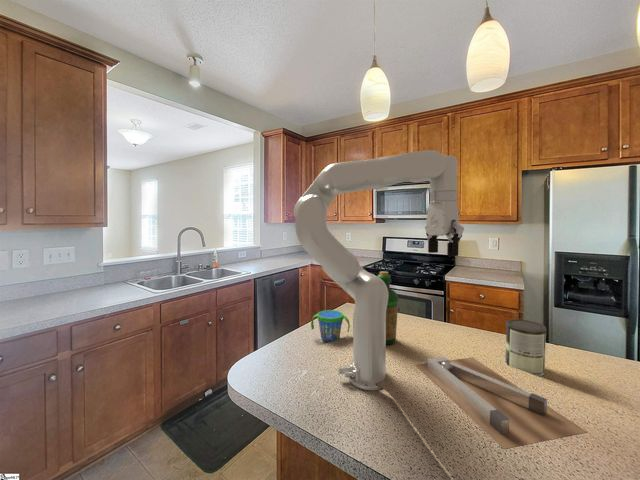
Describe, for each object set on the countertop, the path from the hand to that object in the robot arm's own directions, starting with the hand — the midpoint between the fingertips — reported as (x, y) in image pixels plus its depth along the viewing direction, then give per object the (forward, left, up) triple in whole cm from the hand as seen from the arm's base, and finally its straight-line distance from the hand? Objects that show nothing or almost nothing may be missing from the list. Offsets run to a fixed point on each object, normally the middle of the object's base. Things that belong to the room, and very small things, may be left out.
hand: (442, 254), depth 87 cm
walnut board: (+3, -15, -37) cm, 40 cm away
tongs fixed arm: (-2, -15, -35) cm, 38 cm away
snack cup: (-29, +31, -37) cm, 56 cm away
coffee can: (+26, -5, -37) cm, 46 cm away
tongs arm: (+3, -15, -35) cm, 38 cm away
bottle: (-10, +21, -37) cm, 44 cm away
